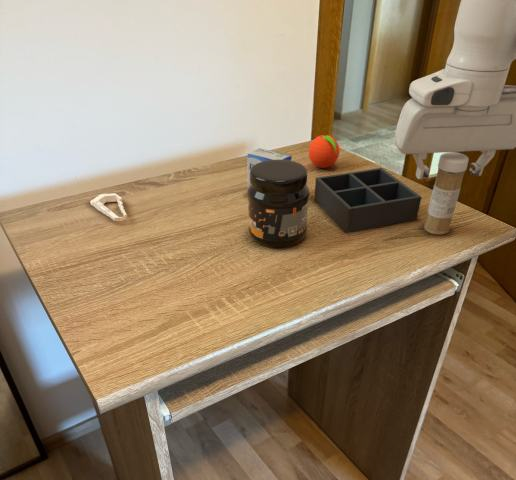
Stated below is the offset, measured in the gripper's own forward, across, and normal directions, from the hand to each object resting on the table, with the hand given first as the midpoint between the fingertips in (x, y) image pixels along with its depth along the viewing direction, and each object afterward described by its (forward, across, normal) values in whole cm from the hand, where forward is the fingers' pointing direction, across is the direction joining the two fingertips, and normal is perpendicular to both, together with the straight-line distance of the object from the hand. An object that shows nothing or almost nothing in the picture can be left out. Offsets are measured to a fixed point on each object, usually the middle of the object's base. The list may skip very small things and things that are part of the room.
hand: (448, 176), depth 82 cm
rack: (+10, +10, -10) cm, 18 cm away
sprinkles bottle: (+10, 0, 0) cm, 10 cm away
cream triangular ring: (+11, +59, -16) cm, 62 cm away
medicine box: (+11, +28, -19) cm, 35 cm away
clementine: (+10, +13, -32) cm, 36 cm away
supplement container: (+10, +29, -2) cm, 31 cm away
